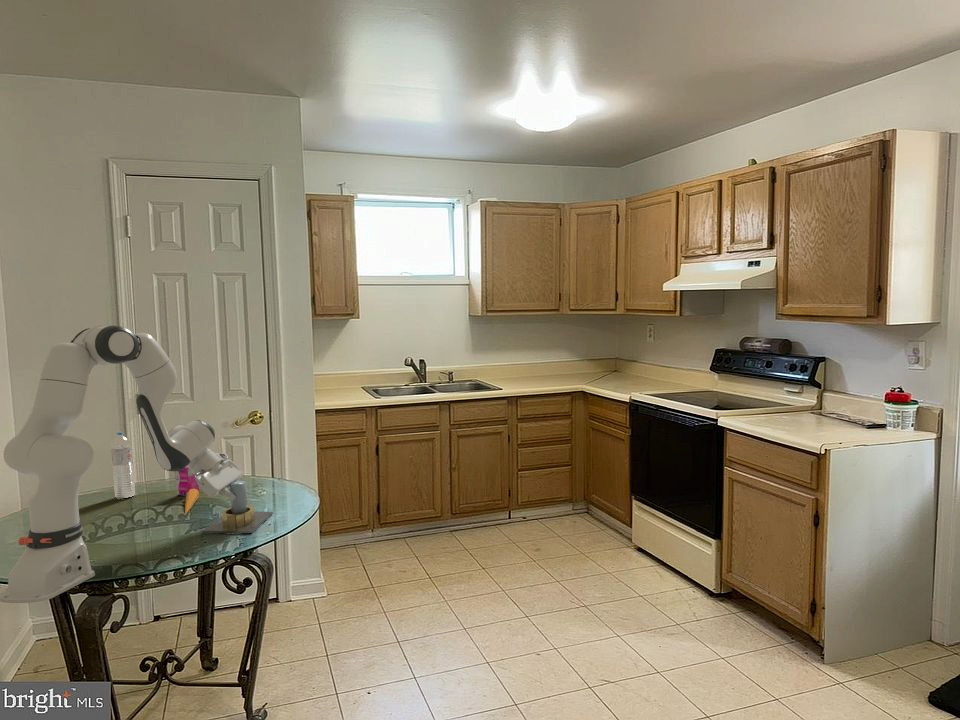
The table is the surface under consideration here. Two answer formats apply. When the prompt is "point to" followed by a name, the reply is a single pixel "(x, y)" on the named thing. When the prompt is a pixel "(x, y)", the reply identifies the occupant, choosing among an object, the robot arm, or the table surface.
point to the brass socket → (237, 517)
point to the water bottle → (122, 467)
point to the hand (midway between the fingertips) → (239, 495)
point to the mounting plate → (248, 528)
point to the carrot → (191, 499)
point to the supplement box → (185, 481)
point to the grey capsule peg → (239, 497)
